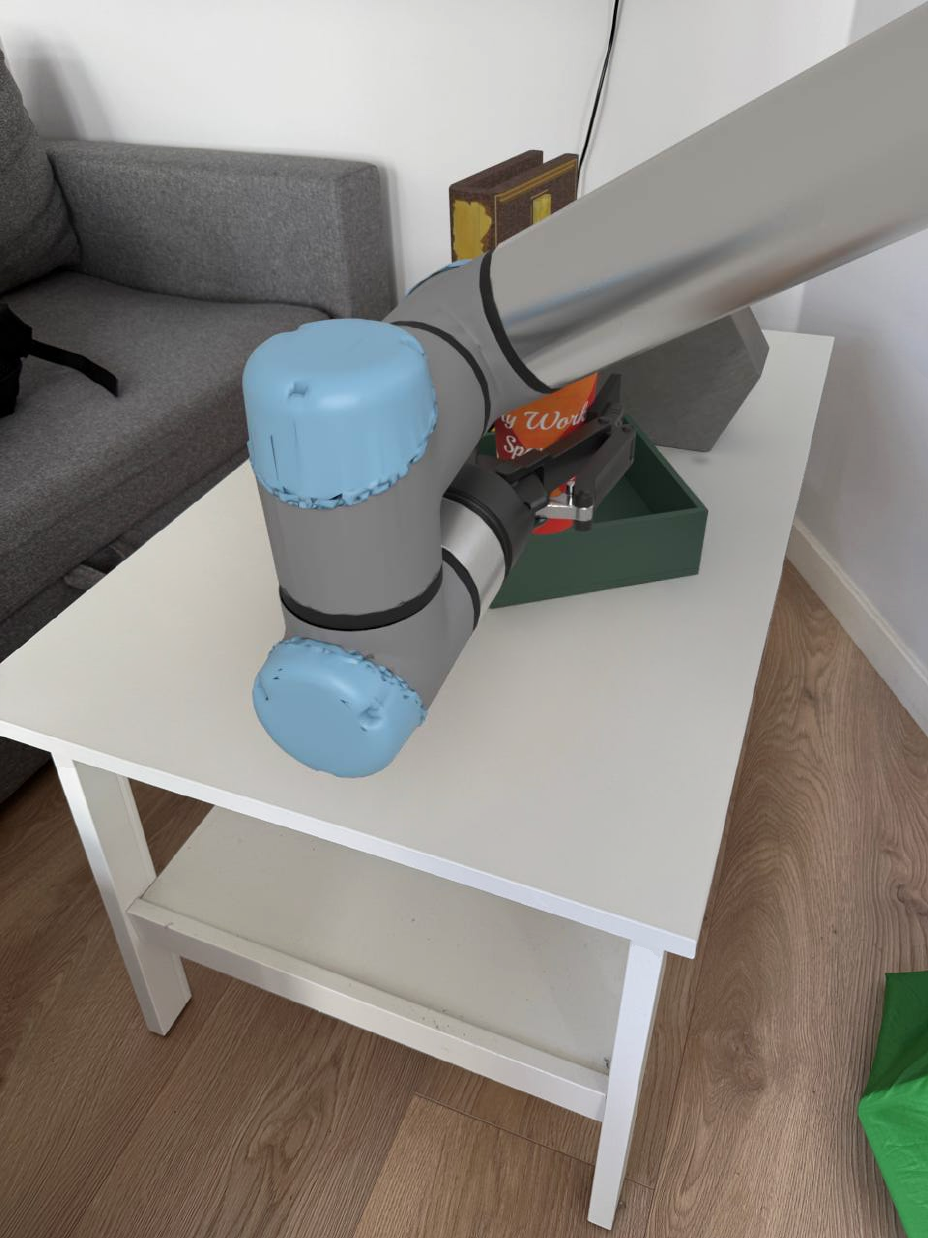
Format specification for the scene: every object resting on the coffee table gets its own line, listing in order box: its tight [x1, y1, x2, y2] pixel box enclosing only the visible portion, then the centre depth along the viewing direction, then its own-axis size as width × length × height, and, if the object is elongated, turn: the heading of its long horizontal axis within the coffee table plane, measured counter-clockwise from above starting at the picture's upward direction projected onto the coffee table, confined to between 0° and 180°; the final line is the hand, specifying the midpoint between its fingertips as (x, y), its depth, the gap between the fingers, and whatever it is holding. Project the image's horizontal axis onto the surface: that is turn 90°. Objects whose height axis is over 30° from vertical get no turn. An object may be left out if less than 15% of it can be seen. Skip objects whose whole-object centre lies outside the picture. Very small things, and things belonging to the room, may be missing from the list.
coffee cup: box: [494, 372, 598, 534], centre depth 65 cm, size 8×8×15 cm
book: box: [448, 149, 580, 263], centre depth 107 cm, size 22×8×25 cm, turn 148°
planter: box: [595, 306, 770, 453], centre depth 99 cm, size 17×8×21 cm
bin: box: [478, 413, 709, 609], centre depth 86 cm, size 19×19×7 cm
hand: (563, 384), depth 68 cm, fingers closed on coffee cup, 7 cm apart
